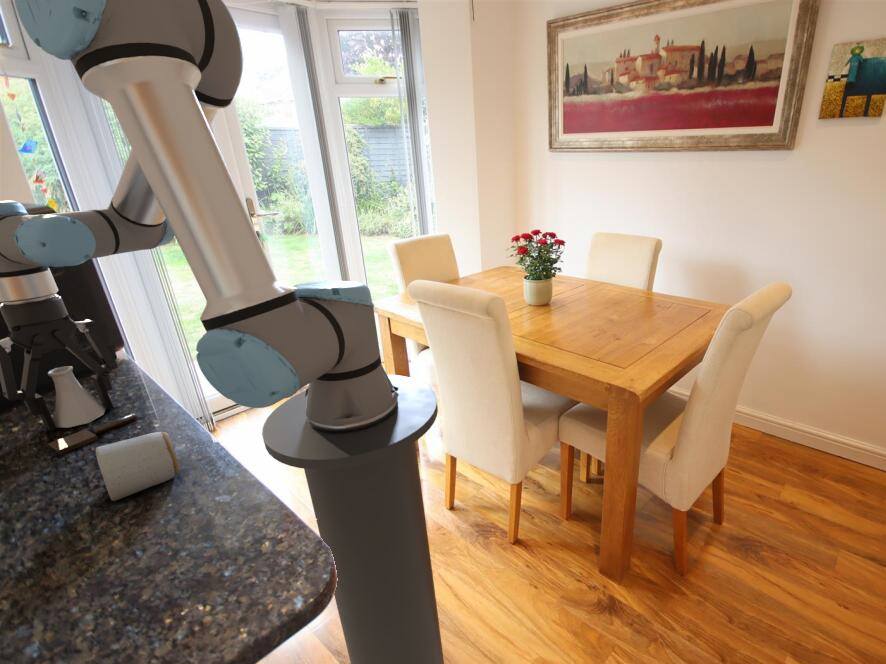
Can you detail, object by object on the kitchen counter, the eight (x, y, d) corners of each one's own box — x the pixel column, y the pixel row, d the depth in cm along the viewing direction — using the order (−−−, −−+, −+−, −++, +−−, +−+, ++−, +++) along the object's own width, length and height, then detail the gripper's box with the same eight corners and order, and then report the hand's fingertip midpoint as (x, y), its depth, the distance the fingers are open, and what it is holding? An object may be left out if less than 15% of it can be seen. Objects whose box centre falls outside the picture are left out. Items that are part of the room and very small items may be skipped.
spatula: (131, 415, 85) (129, 409, 85) (142, 421, 83) (140, 415, 83) (50, 447, 76) (47, 441, 76) (60, 455, 74) (57, 448, 74)
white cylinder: (187, 482, 66) (171, 436, 64) (115, 511, 61) (94, 462, 58) (172, 453, 73) (157, 411, 71) (106, 478, 68) (87, 433, 65)
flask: (92, 425, 82) (71, 375, 79) (44, 432, 81) (20, 381, 77) (114, 406, 89) (95, 359, 85) (70, 412, 87) (49, 364, 84)
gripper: (95, 282, 86) (136, 390, 95) (-70, 312, 70) (-4, 439, 78) (113, 286, 83) (153, 398, 91) (-58, 319, 66) (11, 452, 75)
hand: (80, 417), depth 85 cm, fingers closed on flask, 8 cm apart
